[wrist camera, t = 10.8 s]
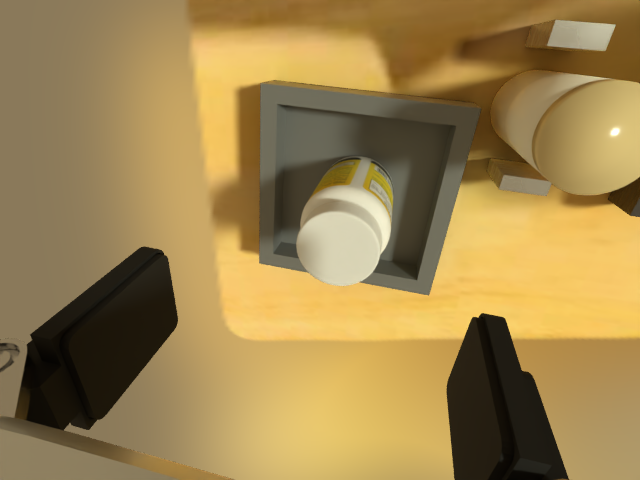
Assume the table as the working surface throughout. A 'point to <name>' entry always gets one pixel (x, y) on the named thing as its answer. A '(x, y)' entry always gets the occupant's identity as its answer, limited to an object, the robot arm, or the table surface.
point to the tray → (372, 142)
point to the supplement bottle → (346, 222)
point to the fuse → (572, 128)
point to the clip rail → (568, 37)
